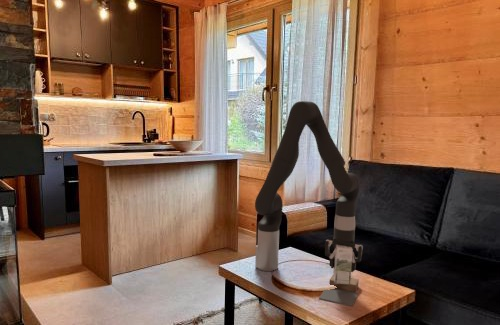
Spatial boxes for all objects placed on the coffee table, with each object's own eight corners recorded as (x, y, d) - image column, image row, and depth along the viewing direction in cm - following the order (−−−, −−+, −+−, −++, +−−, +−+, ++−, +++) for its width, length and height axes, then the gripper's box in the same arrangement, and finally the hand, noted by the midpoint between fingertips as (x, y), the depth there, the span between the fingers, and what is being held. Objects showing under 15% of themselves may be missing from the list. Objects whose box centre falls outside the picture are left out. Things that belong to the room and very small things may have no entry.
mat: (319, 299, 134) (319, 297, 134) (326, 287, 143) (326, 286, 143) (352, 306, 128) (352, 305, 128) (358, 293, 138) (358, 292, 138)
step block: (329, 287, 143) (329, 279, 143) (332, 281, 149) (333, 274, 149) (355, 292, 139) (356, 285, 139) (358, 286, 145) (358, 279, 144)
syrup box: (348, 279, 142) (350, 242, 141) (350, 285, 136) (352, 247, 135) (332, 278, 143) (334, 241, 141) (334, 284, 137) (336, 246, 135)
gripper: (323, 226, 137) (321, 269, 139) (362, 232, 131) (360, 277, 133) (327, 221, 144) (325, 262, 146) (366, 227, 138) (363, 269, 139)
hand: (342, 269), depth 139 cm, fingers closed on syrup box, 7 cm apart
